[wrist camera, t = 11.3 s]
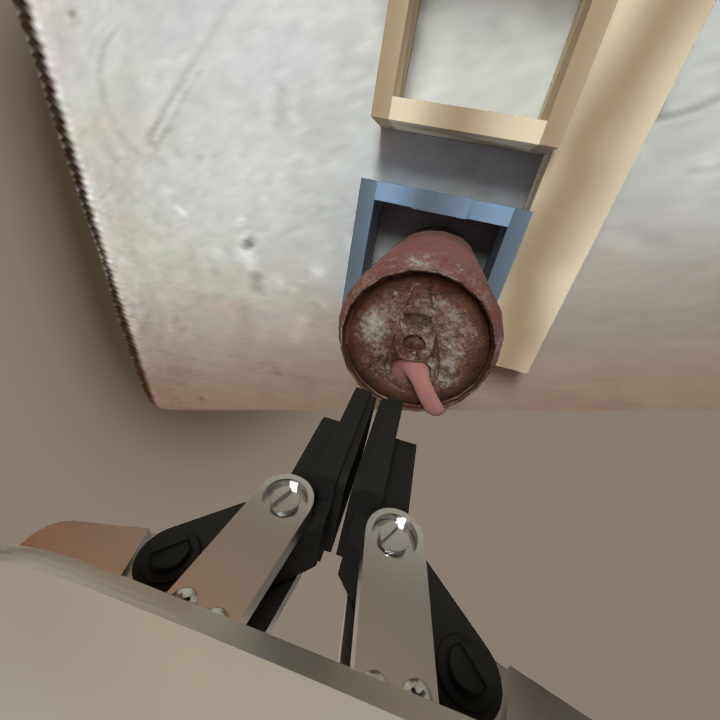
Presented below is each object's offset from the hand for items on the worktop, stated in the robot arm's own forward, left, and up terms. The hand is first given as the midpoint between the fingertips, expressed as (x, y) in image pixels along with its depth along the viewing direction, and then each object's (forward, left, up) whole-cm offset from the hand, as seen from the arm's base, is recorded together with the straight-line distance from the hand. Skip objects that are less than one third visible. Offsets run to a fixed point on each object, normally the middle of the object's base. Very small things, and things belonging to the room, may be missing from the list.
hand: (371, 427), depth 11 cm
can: (-1, -3, -16) cm, 16 cm away
